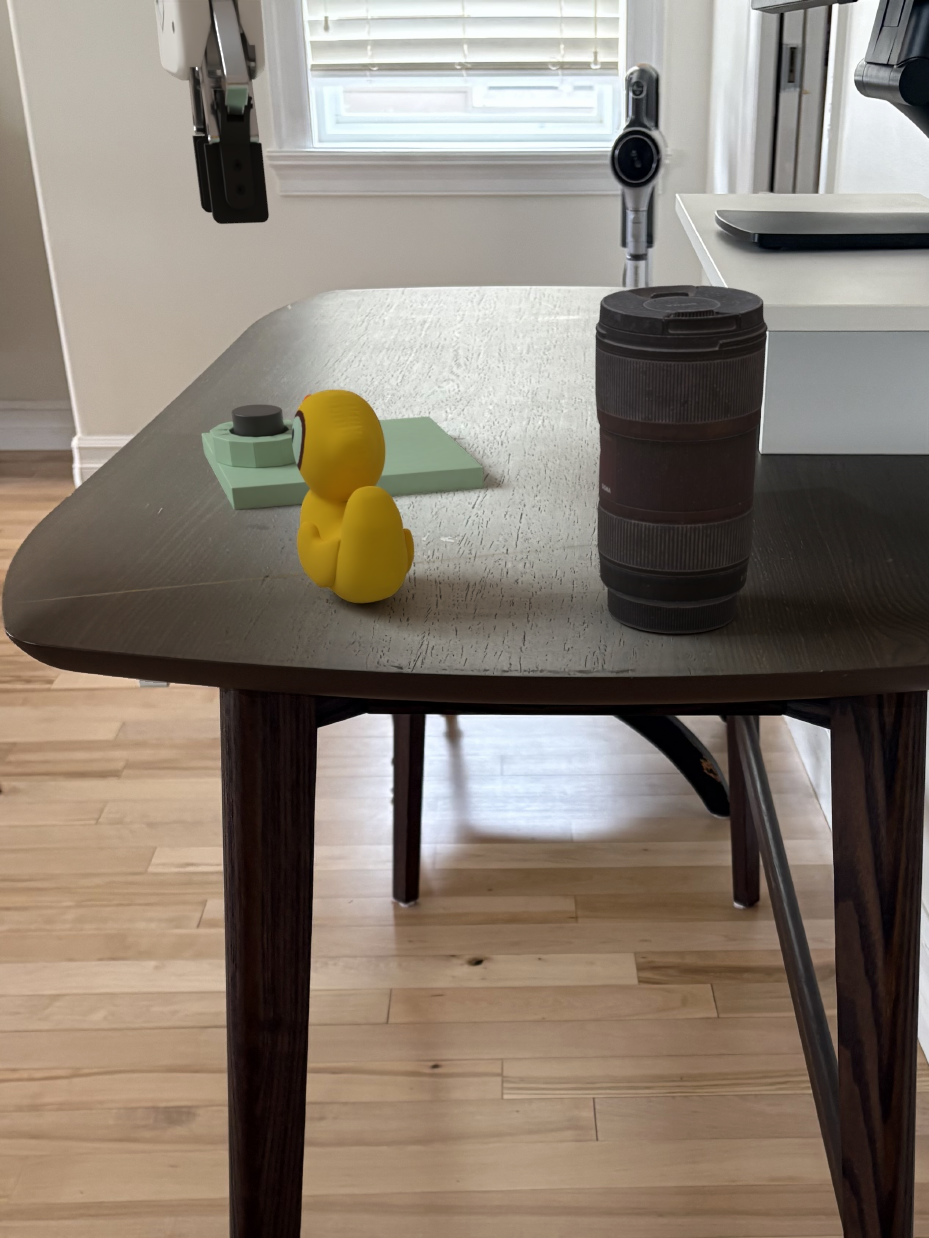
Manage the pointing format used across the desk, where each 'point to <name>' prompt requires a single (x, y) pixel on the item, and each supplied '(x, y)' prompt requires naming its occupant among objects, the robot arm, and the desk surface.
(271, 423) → the button
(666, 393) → the camera lens
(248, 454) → the scale
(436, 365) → the desk surface
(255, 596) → the desk surface
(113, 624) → the desk surface
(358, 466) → the duckling
